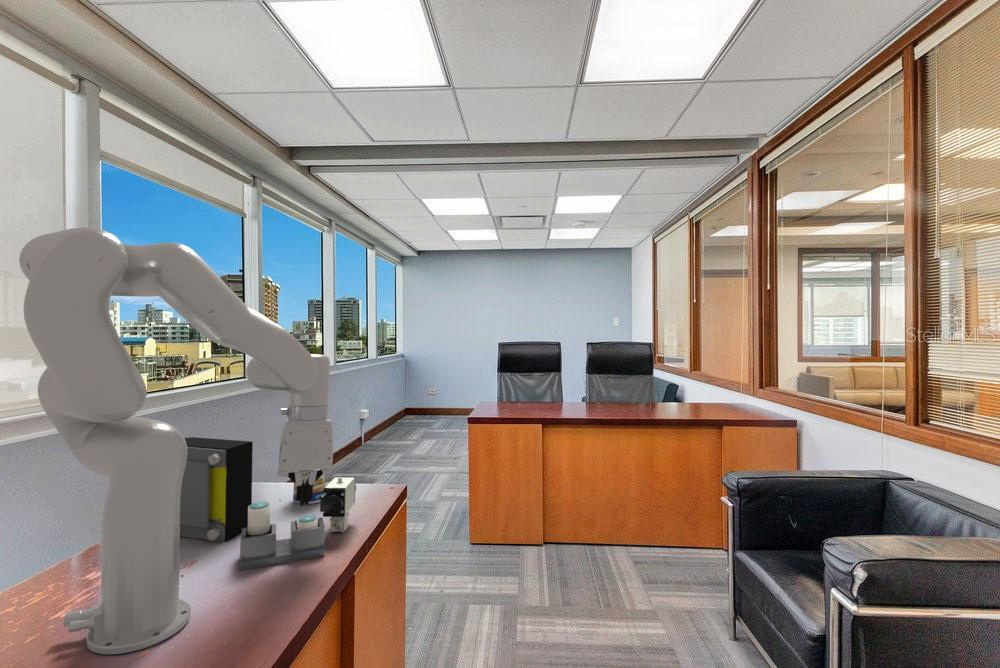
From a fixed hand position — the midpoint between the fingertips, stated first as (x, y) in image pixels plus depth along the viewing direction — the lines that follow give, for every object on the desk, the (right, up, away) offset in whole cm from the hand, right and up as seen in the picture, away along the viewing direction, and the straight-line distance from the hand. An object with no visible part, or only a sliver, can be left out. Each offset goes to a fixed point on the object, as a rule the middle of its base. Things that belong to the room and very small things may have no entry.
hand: (304, 503), depth 99 cm
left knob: (-8, -5, -3) cm, 9 cm away
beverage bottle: (-11, -10, +31) cm, 34 cm away
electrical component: (-26, -10, +9) cm, 30 cm away
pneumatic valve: (+3, -10, +11) cm, 16 cm away
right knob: (0, -9, +1) cm, 9 cm away
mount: (-4, -10, -1) cm, 11 cm away
